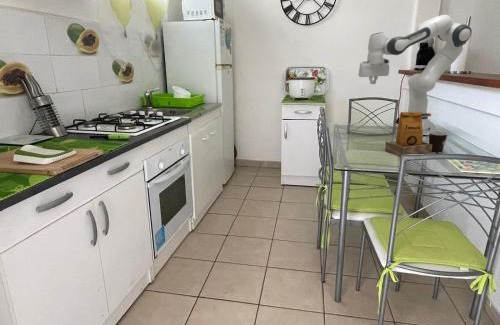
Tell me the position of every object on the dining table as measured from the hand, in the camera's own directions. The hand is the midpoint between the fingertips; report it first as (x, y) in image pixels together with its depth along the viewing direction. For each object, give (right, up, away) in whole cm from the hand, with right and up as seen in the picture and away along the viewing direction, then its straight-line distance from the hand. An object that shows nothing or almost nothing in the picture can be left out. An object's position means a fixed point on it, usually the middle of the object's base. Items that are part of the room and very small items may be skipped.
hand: (372, 84), depth 206 cm
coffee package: (+9, -44, -26) cm, 52 cm away
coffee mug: (+26, -43, -26) cm, 57 cm away
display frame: (+9, -43, -26) cm, 52 cm away
